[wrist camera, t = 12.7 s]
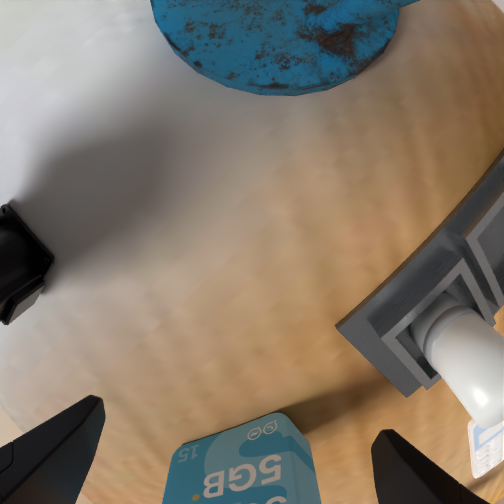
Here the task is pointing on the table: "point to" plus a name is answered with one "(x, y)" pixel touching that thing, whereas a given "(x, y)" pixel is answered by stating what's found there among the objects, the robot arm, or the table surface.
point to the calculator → (485, 447)
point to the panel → (435, 284)
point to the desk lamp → (278, 40)
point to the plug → (464, 356)
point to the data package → (245, 466)
